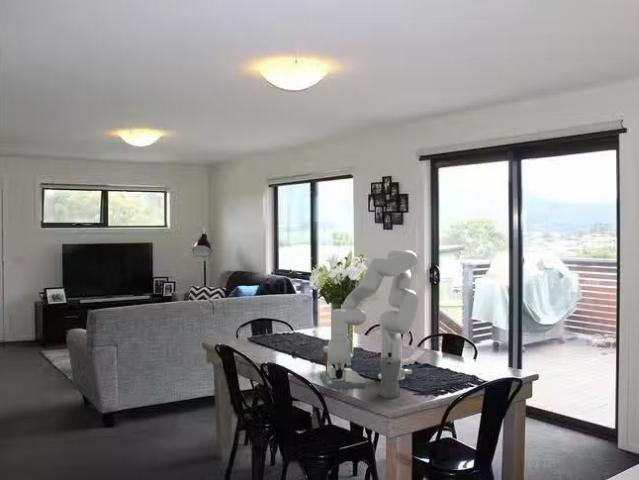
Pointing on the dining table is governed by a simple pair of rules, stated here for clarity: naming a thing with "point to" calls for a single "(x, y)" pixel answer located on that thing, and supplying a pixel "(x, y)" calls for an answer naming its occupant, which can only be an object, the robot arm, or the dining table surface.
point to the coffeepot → (389, 376)
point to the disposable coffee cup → (326, 356)
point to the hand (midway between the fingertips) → (339, 378)
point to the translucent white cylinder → (412, 358)
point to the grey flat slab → (342, 381)
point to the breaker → (332, 372)
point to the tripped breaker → (348, 374)
